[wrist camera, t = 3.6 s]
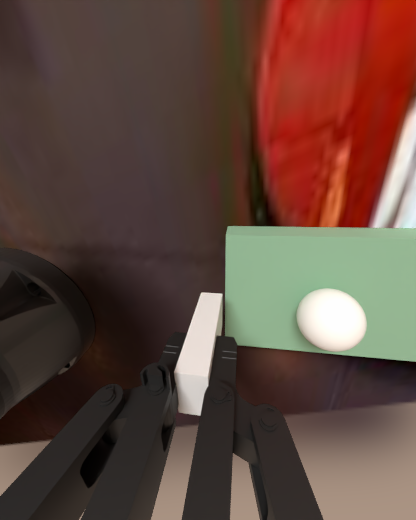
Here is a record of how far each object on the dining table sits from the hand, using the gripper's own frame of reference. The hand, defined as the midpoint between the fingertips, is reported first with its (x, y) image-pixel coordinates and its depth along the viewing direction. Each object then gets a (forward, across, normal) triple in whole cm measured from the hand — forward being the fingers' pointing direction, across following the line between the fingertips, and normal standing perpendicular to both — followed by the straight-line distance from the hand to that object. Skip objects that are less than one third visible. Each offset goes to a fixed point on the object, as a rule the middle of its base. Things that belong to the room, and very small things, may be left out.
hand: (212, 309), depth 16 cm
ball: (0, +8, 0) cm, 8 cm away
